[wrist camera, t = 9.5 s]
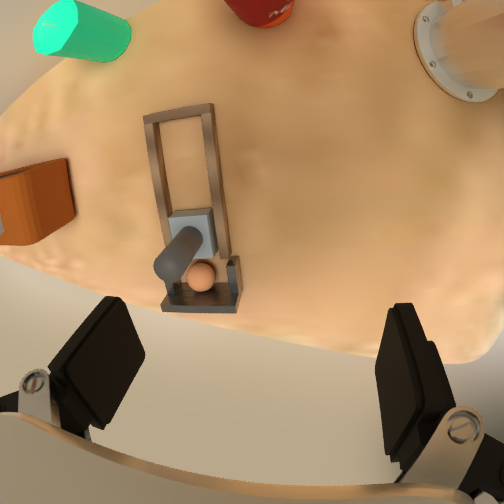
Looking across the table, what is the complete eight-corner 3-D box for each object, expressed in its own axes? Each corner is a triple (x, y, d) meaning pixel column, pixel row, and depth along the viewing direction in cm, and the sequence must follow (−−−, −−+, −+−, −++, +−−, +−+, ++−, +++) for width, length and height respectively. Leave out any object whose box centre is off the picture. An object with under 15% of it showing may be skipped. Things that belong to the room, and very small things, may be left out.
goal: (168, 258, 37) (152, 278, 32) (238, 256, 36) (230, 277, 31) (175, 289, 39) (162, 311, 34) (242, 289, 38) (236, 313, 33)
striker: (175, 210, 34) (140, 244, 25) (212, 208, 33) (185, 242, 25) (183, 250, 36) (152, 292, 28) (218, 249, 35) (196, 292, 27)
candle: (86, 63, 27) (16, 57, 16) (97, 19, 24) (32, 1, 13) (125, 62, 27) (57, 51, 16) (137, 17, 24) (75, -11, 13)
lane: (149, 115, 29) (142, 116, 28) (213, 103, 28) (209, 103, 27) (173, 254, 37) (168, 260, 35) (231, 252, 35) (228, 258, 34)
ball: (180, 276, 33) (187, 297, 35) (208, 276, 33) (214, 297, 35) (187, 257, 36) (194, 278, 38) (214, 256, 36) (219, 277, 38)
